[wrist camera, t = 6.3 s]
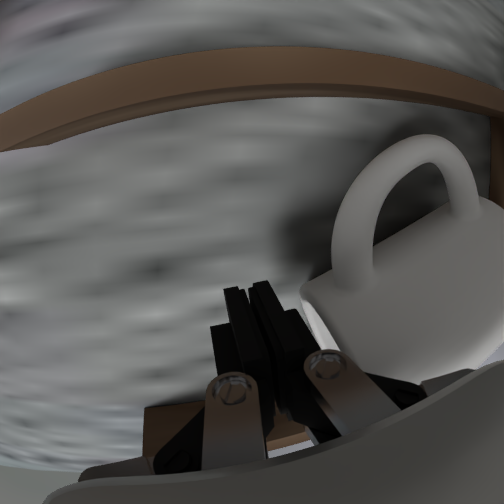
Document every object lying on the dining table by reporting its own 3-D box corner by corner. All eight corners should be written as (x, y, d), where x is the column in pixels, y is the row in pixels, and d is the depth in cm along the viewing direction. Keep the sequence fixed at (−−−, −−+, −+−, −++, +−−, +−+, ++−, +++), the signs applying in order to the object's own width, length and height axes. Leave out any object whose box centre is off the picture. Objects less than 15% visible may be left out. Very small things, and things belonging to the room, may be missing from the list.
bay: (44, 119, 9) (-13, 118, 5) (513, 109, 13) (556, 115, 9) (150, 418, 16) (150, 472, 13) (488, 309, 21) (518, 333, 17)
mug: (443, 285, 17) (521, 347, 10) (324, 360, 17) (383, 460, 10) (416, 110, 12) (546, 123, 5) (245, 181, 12) (330, 250, 5)
